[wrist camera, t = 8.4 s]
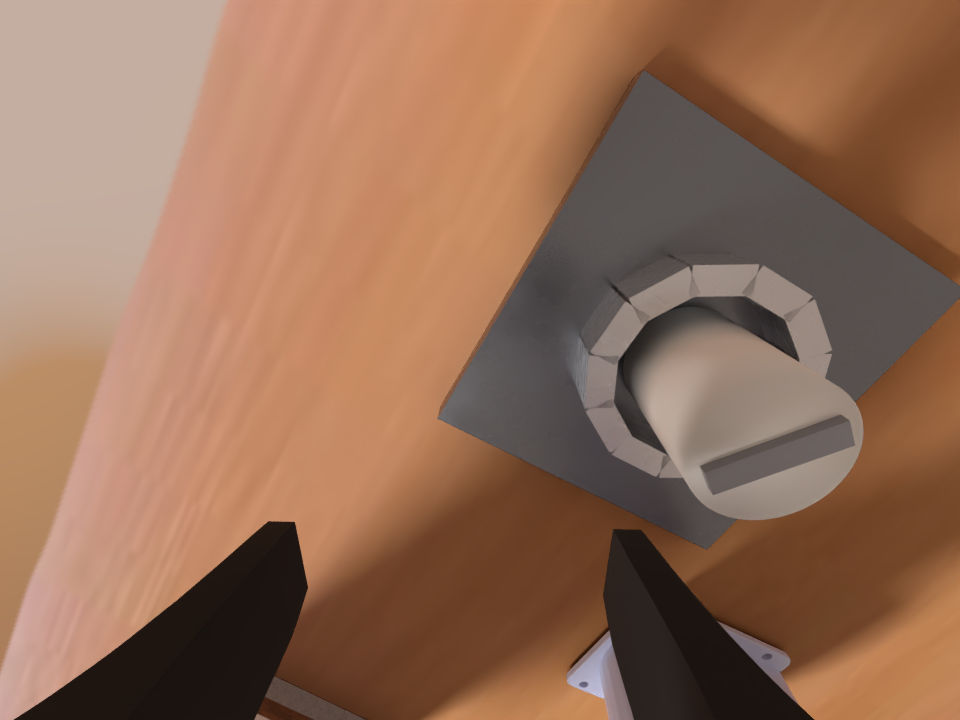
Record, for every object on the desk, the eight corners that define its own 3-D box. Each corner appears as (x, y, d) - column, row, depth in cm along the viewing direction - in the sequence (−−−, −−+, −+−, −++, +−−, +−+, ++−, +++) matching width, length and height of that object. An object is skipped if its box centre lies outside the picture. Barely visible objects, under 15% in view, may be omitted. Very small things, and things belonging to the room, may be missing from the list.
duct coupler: (724, 286, 16) (856, 349, 10) (755, 387, 18) (885, 492, 12) (606, 338, 17) (665, 423, 11) (644, 430, 19) (714, 548, 13)
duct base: (940, 284, 17) (1028, 306, 14) (697, 533, 22) (727, 586, 19) (634, 76, 15) (667, 54, 12) (440, 407, 20) (431, 445, 17)
